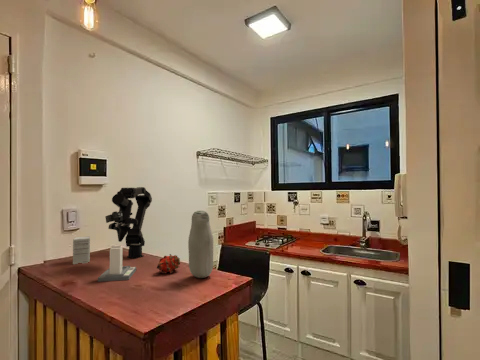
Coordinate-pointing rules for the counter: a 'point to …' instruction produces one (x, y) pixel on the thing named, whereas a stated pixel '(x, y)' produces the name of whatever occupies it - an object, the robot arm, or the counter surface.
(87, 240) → the grey ridged block
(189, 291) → the counter surface
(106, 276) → the docking station
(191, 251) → the grey bottle
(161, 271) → the dragon fruit
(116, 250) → the cream tall block
